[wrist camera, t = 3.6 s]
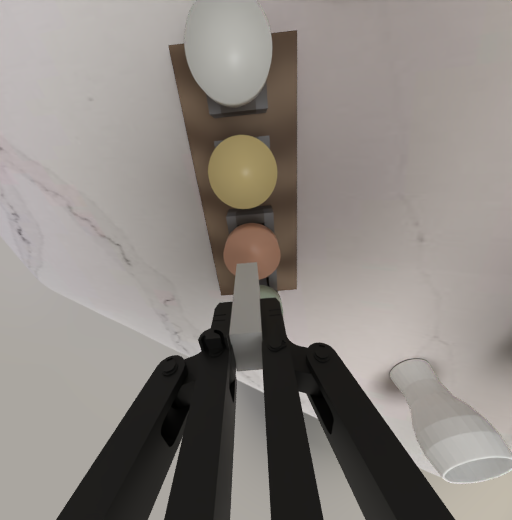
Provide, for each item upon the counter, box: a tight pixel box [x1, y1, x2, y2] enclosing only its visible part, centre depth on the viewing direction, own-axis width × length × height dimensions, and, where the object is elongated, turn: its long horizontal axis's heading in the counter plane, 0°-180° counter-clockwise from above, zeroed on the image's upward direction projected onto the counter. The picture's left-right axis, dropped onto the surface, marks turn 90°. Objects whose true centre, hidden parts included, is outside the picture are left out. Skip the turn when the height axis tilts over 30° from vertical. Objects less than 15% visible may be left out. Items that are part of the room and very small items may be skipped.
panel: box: [169, 30, 297, 295], centre depth 24 cm, size 27×11×4 cm, turn 5°
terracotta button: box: [223, 223, 281, 280], centre depth 22 cm, size 5×5×5 cm
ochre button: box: [208, 135, 277, 209], centre depth 18 cm, size 5×5×5 cm
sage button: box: [259, 278, 283, 315], centre depth 25 cm, size 5×5×5 cm
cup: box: [390, 359, 512, 484], centre depth 36 cm, size 11×11×15 cm
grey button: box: [184, 0, 272, 107], centre depth 15 cm, size 5×5×5 cm
